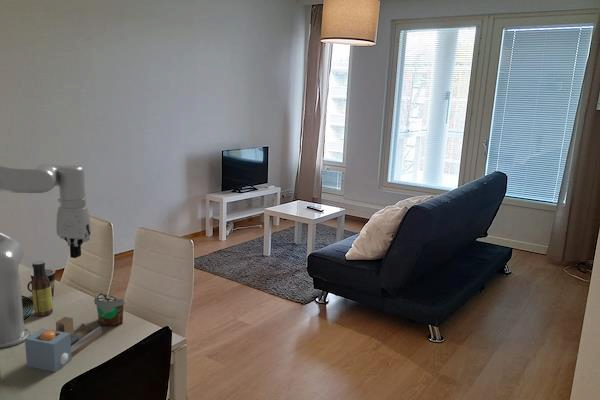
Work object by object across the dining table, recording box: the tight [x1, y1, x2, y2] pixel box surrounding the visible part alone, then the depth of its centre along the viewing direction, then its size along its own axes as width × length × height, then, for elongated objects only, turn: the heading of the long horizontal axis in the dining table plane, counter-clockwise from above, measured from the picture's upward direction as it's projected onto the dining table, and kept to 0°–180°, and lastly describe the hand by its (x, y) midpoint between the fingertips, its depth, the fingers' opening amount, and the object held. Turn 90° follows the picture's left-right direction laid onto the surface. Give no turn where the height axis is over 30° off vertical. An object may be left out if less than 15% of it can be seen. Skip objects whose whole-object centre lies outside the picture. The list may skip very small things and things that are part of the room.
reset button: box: [40, 330, 56, 341], centre depth 146 cm, size 4×4×4 cm
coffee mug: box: [26, 268, 56, 298], centre depth 191 cm, size 12×9×10 cm
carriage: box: [55, 316, 79, 346], centre depth 153 cm, size 5×6×9 cm
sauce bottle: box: [30, 260, 54, 317], centre depth 177 cm, size 7×6×20 cm
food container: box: [93, 290, 126, 328], centre depth 172 cm, size 12×6×10 cm, turn 62°
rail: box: [71, 323, 103, 358], centre depth 158 cm, size 8×17×3 cm, turn 166°
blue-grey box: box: [24, 327, 73, 373], centre depth 146 cm, size 10×7×9 cm
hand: (75, 256), depth 162 cm, fingers closed
